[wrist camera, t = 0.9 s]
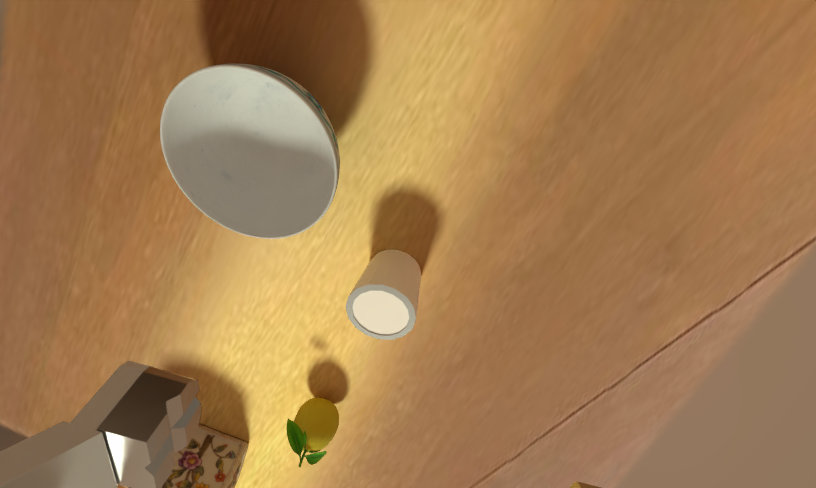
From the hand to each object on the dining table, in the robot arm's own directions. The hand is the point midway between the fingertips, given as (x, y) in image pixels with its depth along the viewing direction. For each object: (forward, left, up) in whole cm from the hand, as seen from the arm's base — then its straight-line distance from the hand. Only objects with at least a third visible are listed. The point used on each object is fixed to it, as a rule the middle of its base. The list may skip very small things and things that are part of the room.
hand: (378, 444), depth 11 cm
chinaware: (+18, -8, -37) cm, 42 cm away
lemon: (+45, +18, -37) cm, 61 cm away
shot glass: (+22, +10, -37) cm, 44 cm away
